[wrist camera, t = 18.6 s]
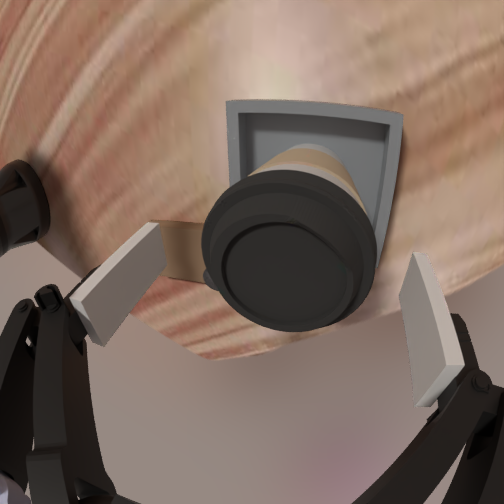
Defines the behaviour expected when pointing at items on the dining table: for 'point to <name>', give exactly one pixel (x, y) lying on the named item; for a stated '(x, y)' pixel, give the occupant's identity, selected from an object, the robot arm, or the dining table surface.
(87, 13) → the dining table surface
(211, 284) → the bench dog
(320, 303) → the coffee cup
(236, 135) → the tray
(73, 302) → the robot arm
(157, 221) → the board
